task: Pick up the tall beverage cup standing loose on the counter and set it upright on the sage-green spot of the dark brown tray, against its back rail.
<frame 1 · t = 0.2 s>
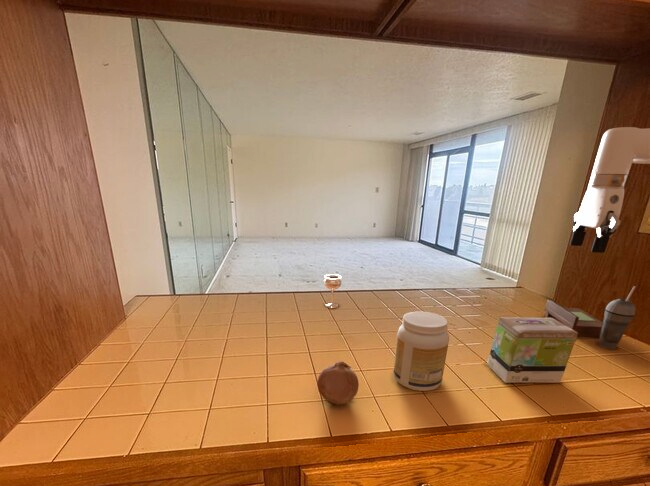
hand: (586, 248, 96), 31 cm above the worktop, tool pointing down, fingers open, 9 cm apart
onion: (337, 400, 80), on the worktop
beverage cup: (606, 346, 110), on the worktop
tea box: (522, 374, 93), on the worktop
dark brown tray: (572, 326, 124), on the worktop
supplement tub: (416, 380, 89), on the worktop
wineglass: (332, 306, 138), on the worktop
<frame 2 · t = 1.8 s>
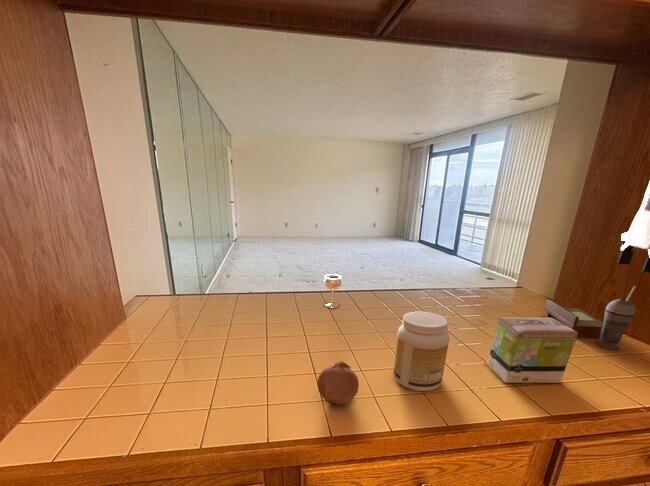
hand: (635, 267, 100), 25 cm above the worktop, tool pointing down, fingers open, 9 cm apart
nothing on the worktop moved.
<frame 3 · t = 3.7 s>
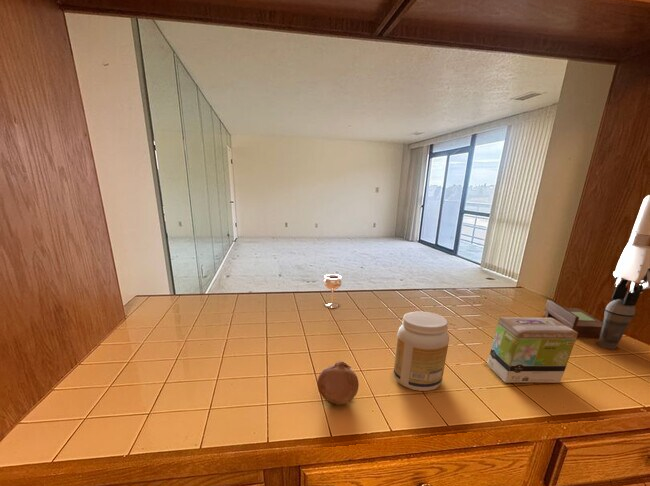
hand: (623, 301, 104), 15 cm above the worktop, tool pointing down, fingers closed on beverage cup, 4 cm apart
beverage cup: (606, 346, 110), on the worktop, touching gripper
everything else where it was.
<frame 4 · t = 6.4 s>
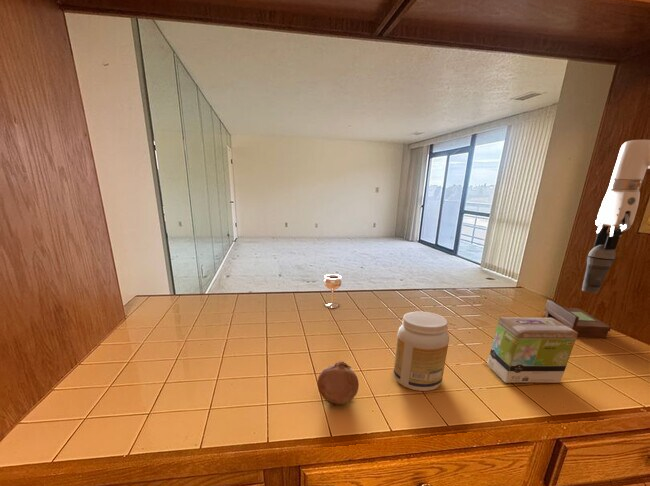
hand: (604, 247, 110), 29 cm above the worktop, tool pointing down, fingers closed on beverage cup, 4 cm apart
beverage cup: (589, 291, 116), point 14 cm above the worktop, touching gripper
everything else where it was.
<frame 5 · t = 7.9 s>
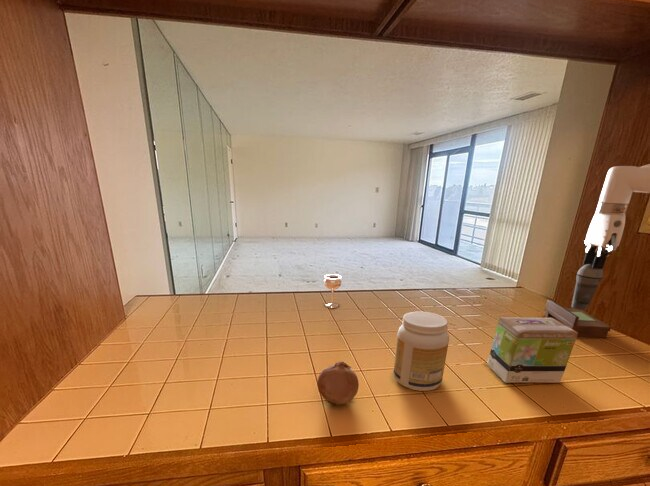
hand: (592, 266, 115), 22 cm above the worktop, tool pointing down, fingers closed on beverage cup, 4 cm apart
beverage cup: (578, 308, 121), point 7 cm above the worktop, touching gripper
everything else where it was.
when the fingers open (19 cm above the worktop, at t = 9.1 s): beverage cup stays where it is, resting on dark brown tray.
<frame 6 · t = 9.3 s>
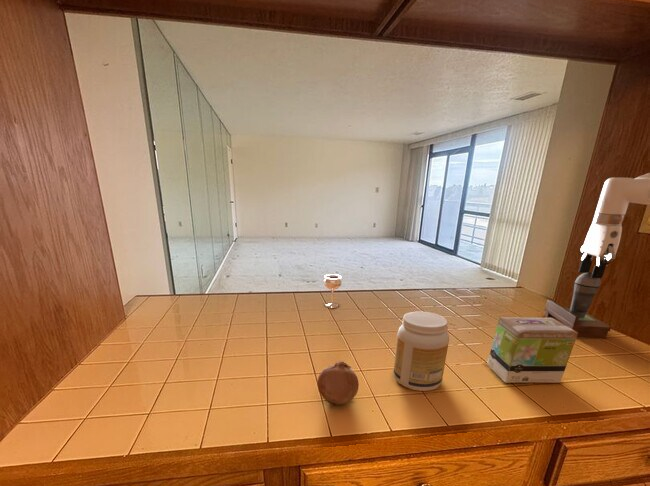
hand: (589, 274, 116), 19 cm above the worktop, tool pointing down, fingers open, 6 cm apart
beverage cup: (576, 316, 122), point 4 cm above the worktop, touching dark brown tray
everything else where it was.
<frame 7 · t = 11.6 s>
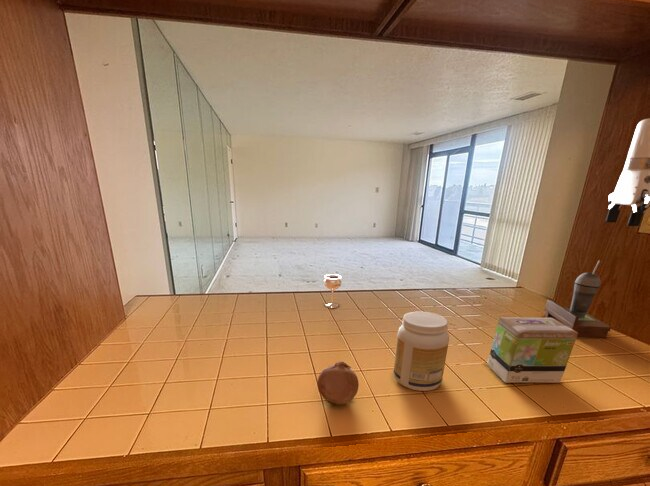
hand: (621, 224, 110), 36 cm above the worktop, tool pointing down, fingers open, 9 cm apart
nothing on the worktop moved.
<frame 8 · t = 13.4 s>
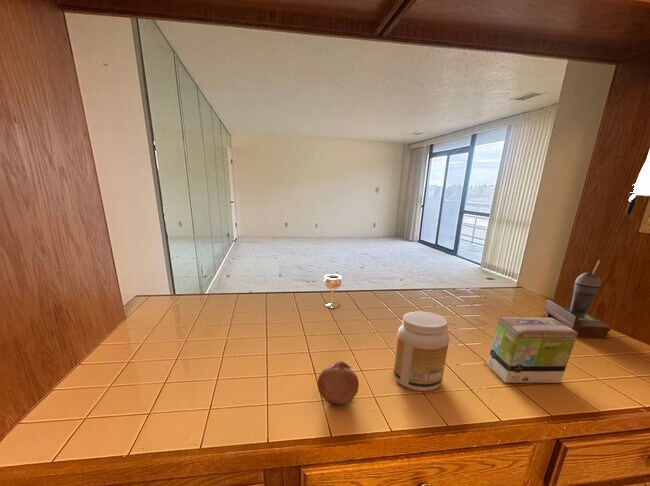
hand: (642, 215, 111), 38 cm above the worktop, tool pointing down, fingers open, 9 cm apart
nothing on the worktop moved.
at the end: beverage cup 0.1 cm off-centre on the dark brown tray, point 4.0 cm above the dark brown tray's base; beverage cup tilted 0°; the gripper is holding nothing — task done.
